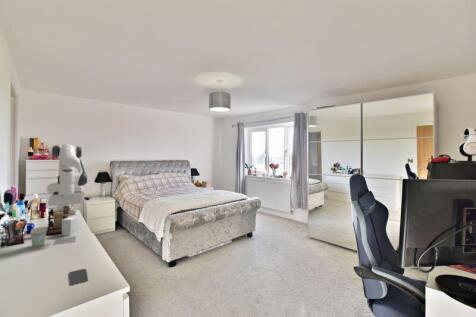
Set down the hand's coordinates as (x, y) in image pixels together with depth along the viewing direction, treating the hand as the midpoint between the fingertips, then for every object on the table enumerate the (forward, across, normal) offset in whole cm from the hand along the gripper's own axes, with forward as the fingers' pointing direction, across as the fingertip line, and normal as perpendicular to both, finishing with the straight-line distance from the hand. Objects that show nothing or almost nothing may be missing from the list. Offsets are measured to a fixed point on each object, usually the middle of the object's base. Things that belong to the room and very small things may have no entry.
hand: (66, 210), depth 161 cm
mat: (+22, 0, 0) cm, 22 cm away
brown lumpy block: (+22, +7, -26) cm, 35 cm away
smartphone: (+21, -9, +67) cm, 71 cm away
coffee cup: (+22, +14, +4) cm, 26 cm away
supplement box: (+22, -2, -16) cm, 27 cm away
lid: (+3, 0, 0) cm, 3 cm away
